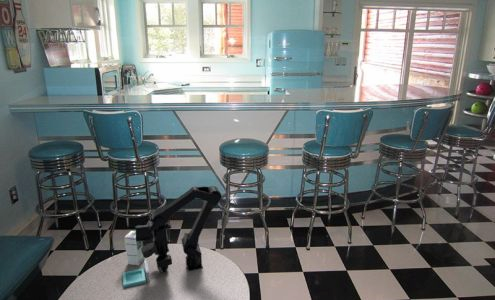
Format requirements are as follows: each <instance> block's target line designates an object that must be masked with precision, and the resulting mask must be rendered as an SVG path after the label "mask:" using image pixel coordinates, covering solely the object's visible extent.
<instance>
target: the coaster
mask: <svg viewBox="0 0 495 300" xmlns="http://www.w3.org/2000/svg"><path fill="white" fill-rule="evenodd" d="M122 282H123V283H122V284H123V288H128V287H129V288H130V287H133V286H137V285H143V284H146V283H147V279H146V273H145V267H143V268H138V269H135V270H129V271H124V272H122Z"/></svg>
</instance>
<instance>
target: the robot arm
mask: <svg viewBox="0 0 495 300" xmlns="http://www.w3.org/2000/svg"><path fill="white" fill-rule="evenodd" d="M222 197H223V196H222V193H221V192H220V189H219V188H218V187H217V186H215V185H211V186H192V187H191V188H190V189H188V190H187V191H186V192H184V193H183V194H181V195H180V196H179V197H177V198H176V199H175V200H173V201H172V202H170V203H169V204H166V205H163V206H161V207H158V208H156V209H154V210H153V212H152V215H151V217H150V219H149V220H148V222H147V223H148V224H144V225H135V231H136V242H140V241H143V242H145V241H150V240H152V242H150V243H147V244H145V245H143V247H142V248H141V252H142V254H143V257H144V258H145V259H148V258H149V257H152V256H153V255H155V256H157V257H156V258H155V262H156V268H157V267H161V269H162V272H161V273H163V274H164V273H166V272H167V270H168V269H167V267H168V265H169V266H171V265H172V264H173V259H172V256H171V254H168V252H170V248H169V239H168V238H169V237H168V230H169V229H172V224H171V223H170V222H169V220H170V219H171V218H172V217H173V216H174V215H175V213H177V212H178V211H180V210H181V209H182V208H184V207H185V206H187V205H188V204H190V203H191V202H193V201H194V200H196V199H199V200H202V201H203V204H202V206H201V208H200V211H199V213H198V215H197V216H196V219H195V221H194V223H193V225H192V228H191V229H190V231H189V232H188V233H187V232H184V234H183V237H182V238H181V245H182V250H183V254H185V255H186V256H185V266H186V268H187V269H188V271H194V270H199V269H204V268H203V267H204V265H203V262H202V260H203V259H202V258H203V257H202V250H201V247H200V244H199V239H200V236H201V233H202V231H203V229H204V227H205V225H206V223H207V221H208V219H209V217H210V215H211V213H212V211H213V209H214V208H216V207H217V206H218V204H219V203H220V202H221V200H222ZM168 268H169V267H168ZM166 269H167V270H166Z"/></svg>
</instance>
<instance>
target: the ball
mask: <svg viewBox="0 0 495 300" xmlns="http://www.w3.org/2000/svg"><path fill="white" fill-rule="evenodd" d="M169 266H170V265H168V267H167V269H166V271H167V270H168V269H169ZM156 268H157V270H158V271H159V272H161V273H163V272H162V269H161V267H157V266H156Z"/></svg>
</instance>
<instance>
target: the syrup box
mask: <svg viewBox="0 0 495 300" xmlns="http://www.w3.org/2000/svg"><path fill="white" fill-rule="evenodd" d="M123 238H124V245H125V253H126V260H127V265H131V266H132V265H133V266H140V264H141V263H142V262H144V260H146V258H145V257H143V254H142V252H141V248H142V247H143V246H144V241H140V242H136V230H130V231H129V232H128V233H127V234H125V236H124V237H123Z"/></svg>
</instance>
